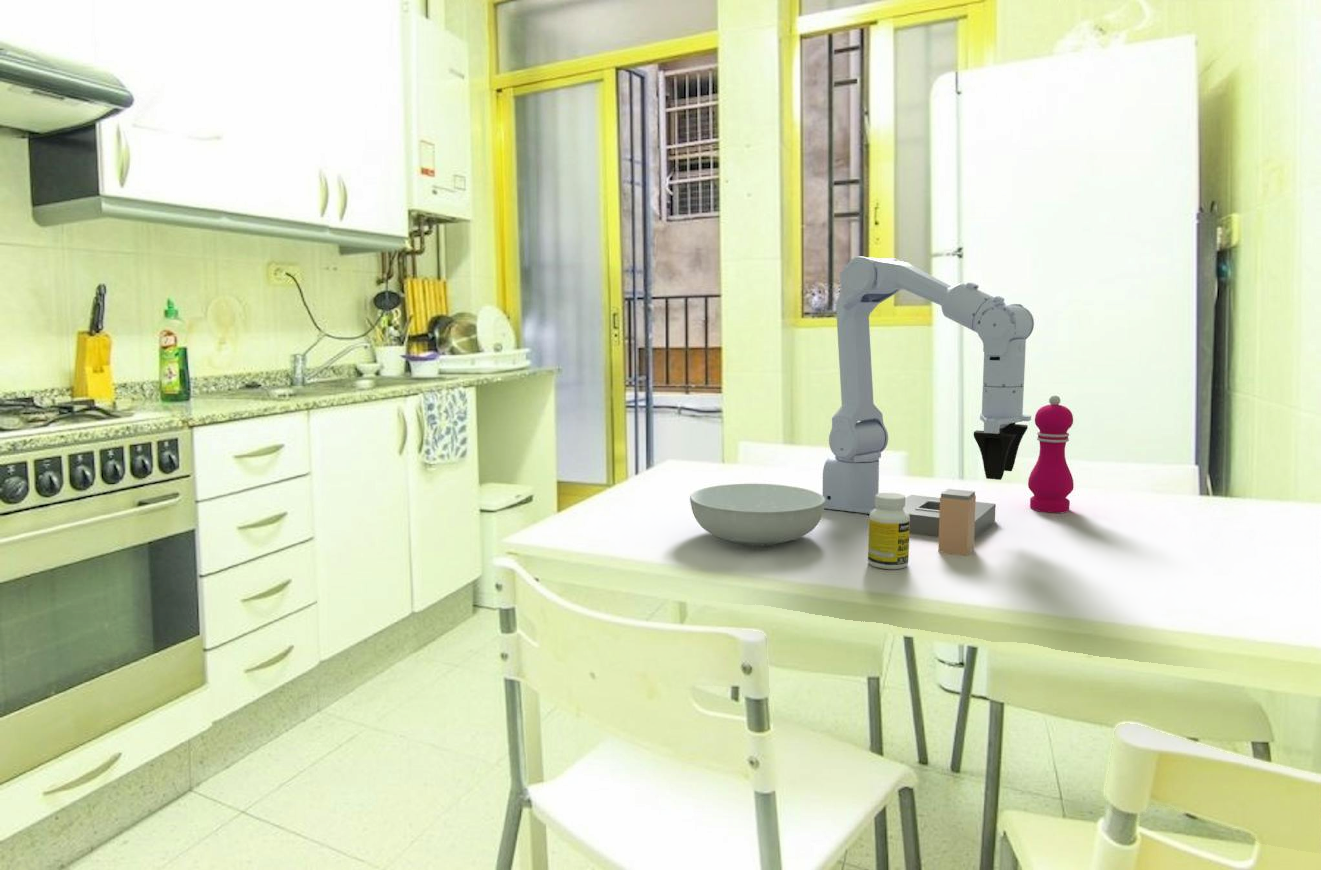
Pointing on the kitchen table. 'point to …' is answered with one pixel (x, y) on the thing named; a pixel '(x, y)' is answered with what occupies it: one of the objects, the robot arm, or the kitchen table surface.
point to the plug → (957, 521)
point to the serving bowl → (757, 512)
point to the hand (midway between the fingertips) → (999, 474)
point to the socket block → (928, 510)
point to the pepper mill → (1052, 460)
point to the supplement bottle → (889, 532)
